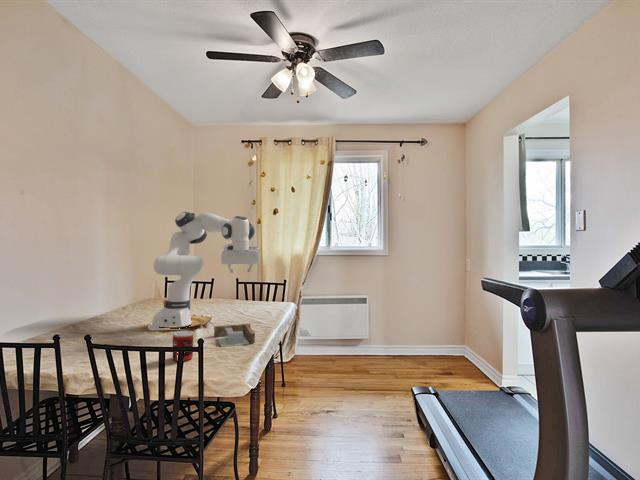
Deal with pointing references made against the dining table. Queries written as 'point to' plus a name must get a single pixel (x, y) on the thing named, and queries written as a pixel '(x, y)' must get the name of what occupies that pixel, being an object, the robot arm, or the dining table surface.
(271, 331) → the dining table surface
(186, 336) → the canned food
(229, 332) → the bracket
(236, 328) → the arena
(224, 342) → the pad
